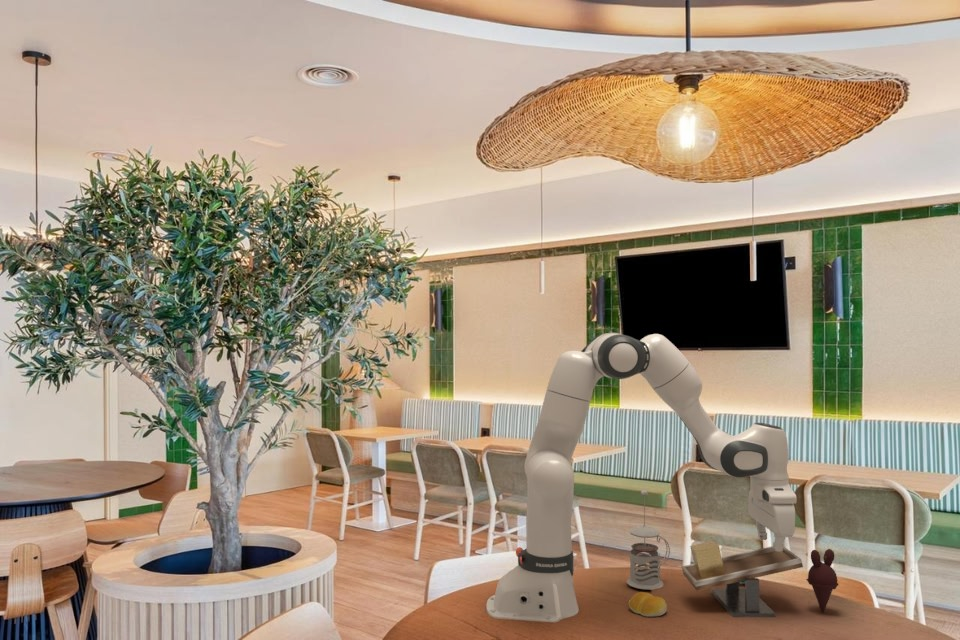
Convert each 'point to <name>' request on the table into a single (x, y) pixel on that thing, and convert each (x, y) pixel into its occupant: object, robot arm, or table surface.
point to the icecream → (822, 577)
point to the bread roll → (647, 604)
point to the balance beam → (746, 567)
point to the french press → (645, 558)
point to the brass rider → (707, 559)
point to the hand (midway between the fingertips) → (770, 544)
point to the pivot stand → (743, 600)
